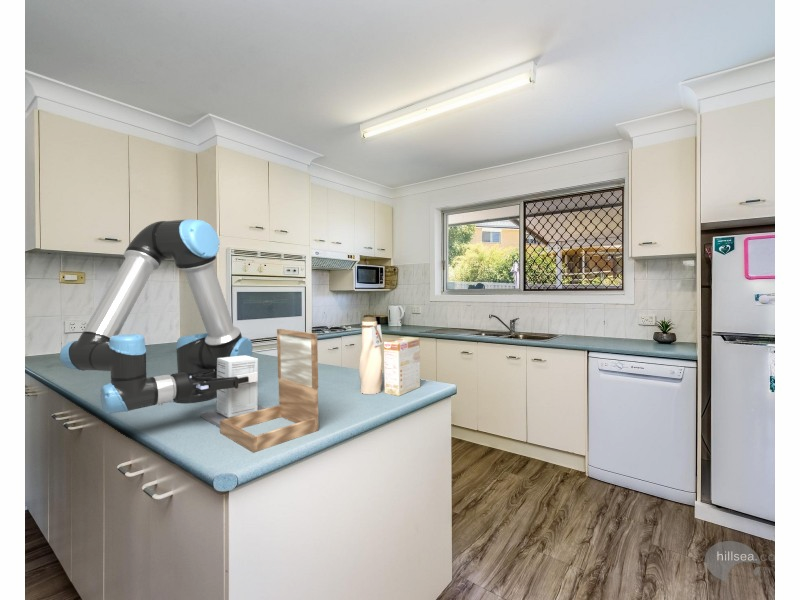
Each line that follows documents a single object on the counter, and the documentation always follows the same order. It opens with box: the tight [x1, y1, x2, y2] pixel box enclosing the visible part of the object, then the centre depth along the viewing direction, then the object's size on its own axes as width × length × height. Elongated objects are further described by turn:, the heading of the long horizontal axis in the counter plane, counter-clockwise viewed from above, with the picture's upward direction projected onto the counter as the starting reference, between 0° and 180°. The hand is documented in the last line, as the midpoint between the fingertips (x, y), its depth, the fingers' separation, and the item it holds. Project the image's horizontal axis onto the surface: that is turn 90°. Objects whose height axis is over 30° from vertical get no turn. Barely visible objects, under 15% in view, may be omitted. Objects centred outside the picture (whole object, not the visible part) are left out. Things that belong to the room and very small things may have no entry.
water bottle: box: [358, 316, 384, 395], centre depth 146 cm, size 10×9×28 cm
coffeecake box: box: [383, 336, 421, 397], centre depth 148 cm, size 15×7×20 cm, turn 145°
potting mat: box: [199, 405, 266, 429], centre depth 121 cm, size 16×16×1 cm
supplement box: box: [216, 355, 259, 418], centre depth 121 cm, size 10×9×17 cm
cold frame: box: [219, 328, 320, 454], centre depth 107 cm, size 19×19×27 cm
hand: (248, 373), depth 124 cm, fingers open, 11 cm apart
